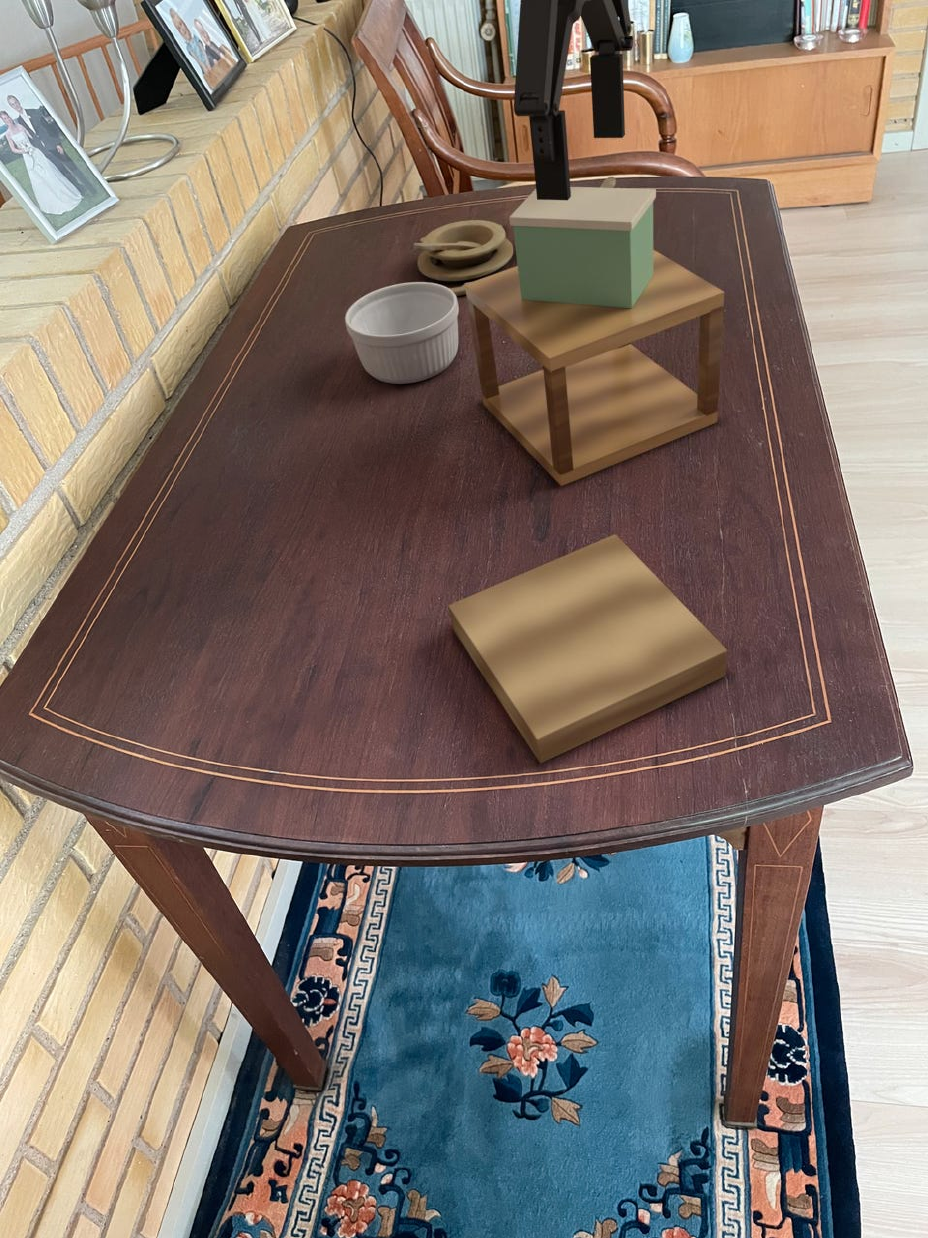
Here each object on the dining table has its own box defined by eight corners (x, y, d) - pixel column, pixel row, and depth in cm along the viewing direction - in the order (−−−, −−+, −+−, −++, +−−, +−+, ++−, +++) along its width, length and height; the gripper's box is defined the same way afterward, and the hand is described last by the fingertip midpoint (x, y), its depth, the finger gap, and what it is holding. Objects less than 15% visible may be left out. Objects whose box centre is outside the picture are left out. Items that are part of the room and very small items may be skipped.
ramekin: (440, 322, 117) (431, 269, 112) (484, 365, 107) (475, 310, 103) (344, 357, 114) (330, 304, 109) (380, 404, 105) (366, 349, 100)
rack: (717, 422, 93) (724, 291, 83) (561, 486, 89) (549, 358, 80) (623, 350, 105) (620, 229, 95) (483, 404, 102) (464, 284, 92)
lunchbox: (656, 274, 87) (656, 188, 82) (633, 310, 83) (631, 222, 78) (545, 267, 92) (538, 185, 86) (518, 300, 88) (508, 216, 82)
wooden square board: (725, 676, 70) (727, 650, 68) (540, 764, 67) (536, 739, 65) (616, 559, 81) (615, 533, 79) (453, 630, 78) (447, 605, 76)
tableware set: (421, 303, 121) (412, 259, 117) (417, 241, 135) (409, 200, 131) (646, 264, 119) (645, 218, 115) (618, 206, 133) (617, 163, 129)
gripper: (576, -173, 73) (591, 114, 88) (438, -105, 59) (484, 226, 74) (668, -187, 70) (668, 113, 85) (547, -119, 56) (572, 229, 70)
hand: (583, 166), depth 79 cm, fingers open, 13 cm apart
